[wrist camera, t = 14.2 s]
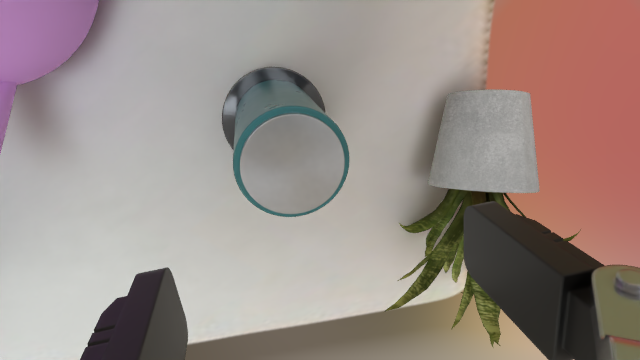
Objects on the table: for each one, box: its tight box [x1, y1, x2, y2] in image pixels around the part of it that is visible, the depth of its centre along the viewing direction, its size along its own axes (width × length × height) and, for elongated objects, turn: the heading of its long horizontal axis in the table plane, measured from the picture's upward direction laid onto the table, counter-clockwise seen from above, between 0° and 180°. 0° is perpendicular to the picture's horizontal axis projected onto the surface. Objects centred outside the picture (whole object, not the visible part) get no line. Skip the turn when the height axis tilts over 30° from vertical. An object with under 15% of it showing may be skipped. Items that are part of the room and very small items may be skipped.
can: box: [233, 80, 349, 217], centre depth 23 cm, size 5×5×10 cm
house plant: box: [386, 90, 578, 346], centre depth 29 cm, size 14×14×16 cm
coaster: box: [222, 67, 325, 150], centre depth 28 cm, size 7×7×1 cm
